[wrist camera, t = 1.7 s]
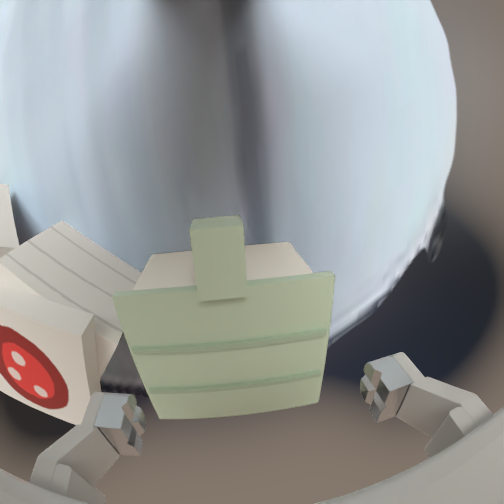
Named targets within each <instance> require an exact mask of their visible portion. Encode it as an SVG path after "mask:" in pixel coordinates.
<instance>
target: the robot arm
mask: <svg viewBox="0 0 504 504" xmlns="http://www.w3.org/2000/svg"><path fill="white" fill-rule="evenodd" d="M364 372H365V376H364V377H363V378H362V379H361V383H360V391H361V395H362V397H363V399H364V401H365V402H366V403H368V404H371V406H370V412H371V414H372V415H373V417H374V419H375V421H376V422H380V421H383V420H386V419H389V418H391V417H394V416H396V417H397V418H399V419H401V420H402V421H404V422H406V423H407V424H409V425H411V426H413V427H414V428H416V429H418V430H420V431H421V432H423V433H425V434H426V435H428V436H430V437H432V439H431V440H430V441H429V443H428V444H427V445H426V447H425V452H426V453H427V455H428V457H429V459H427V460H425V461H423V462H421V463H420V464H418V465H416V466H414V467H412V468H410V469H408V470H406V471H404V472H402V473H399V474H397V475H395V476H393V477H391V478H388V479H386V480H384V481H381V482H379V483H377V484H374V485H371V486H369V487H366V488H363V489H361V490H358V491H355V492H352V493H350V494H346V495H343V496H340V497H337V498H333V499H330V500H326V501H323V502H319V503H315V504H504V406H503V407H502V408H501V409H500V410H498V411H497V412H496V413H495V414H494V415H493V414H492V413H491V412H490V410H489V409H488V408H487V407H486V406H485V404H484V403H483V402H482V401H481V400H480V399H479V397H478V396H477V395H476V394H474V393H471V392H468V391H465V390H462V389H459V388H456V387H454V386H451V385H448V384H446V383H443V382H440V381H438V380H435V379H433V378H430V377H426V378H425V377H424V376H423V375H422V374H421V372H420V371H419V370H418V369H417V368H416V367H415V365H414V364H413V363H412V362H411V360H410V359H409V358H408V357H407V356H406V355H405V354H404V353H402V352H400V353H397V354H394V355H391V356H387V357H384V358H381V359H378V360H375V361H372V362H368V363H367V364H366V365H365V367H364ZM136 403H137V400H136V398H135V396H134V395H132V394H119V393H104V392H94V393H93V394H92V396H91V398H90V401H89V404H88V406H87V409H86V412H85V414H84V417H83V420H82V423H81V425H79V424H77V425H76V426H75V427H74V428H73V429H71V430H70V431H69V432H68V433H66V434H65V435H64V436H62V437H61V438H60V439H59V440H57V441H56V442H55V443H54V444H52V445H51V446H50V447H49V448H47V449H46V450H45V451H43V452H42V453H41V454H40V455H38V458H37V460H36V463H35V466H34V469H33V473H32V475H31V479H30V482H26V481H24V480H22V479H20V478H18V477H16V476H14V475H11V474H9V473H7V472H5V471H3V470H2V469H0V504H105V496H104V494H103V493H101V492H100V491H99V490H97V489H96V488H95V487H94V486H95V485H96V484H97V483H98V481H99V480H100V479H101V478H102V477H103V476H104V474H105V473H106V472H107V471H108V469H109V468H110V467H111V466H112V465H113V464H114V462H115V461H116V460H117V459H118V457H119V456H120V455H131V456H141V453H142V446H143V441H142V439H141V437H140V436H141V435H142V434H143V433H144V432H145V426H146V425H145V417H144V413H143V411H142V409H141V408H140V407H138V406H137V405H136Z"/></svg>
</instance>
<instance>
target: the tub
mask: <svg viewBox="0 0 504 504" xmlns="http://www.w3.org/2000/svg"><path fill="white" fill-rule="evenodd" d="M245 259H246V275H247V280H256V279H265V278H275V277H284V276H293V275H301V274H310V273H313V272H312V270H311V269H310V268H309V267H308V265H307V264H306V263H305V262H304V260H303V259H302V258H301V257H300V255H299V254H298V253H297V252H296V250H295V249H294V248H293V247H292V245H291V244H290V243H289V242H279V243H268V244H257V245H246V246H245ZM193 285H197V284H196V277H195V271H194V263H193V256H192V251H182V252H171V253H161V254H152V255H151V257H150V259H149V260H148V262H147V264H146V266H145V268H144V269H143V271H142V273H141V275H140V277H139V279H138V281H137V283H136V284H135V286H134V288H133V290H143V289H157V288H169V287H182V286H193Z"/></svg>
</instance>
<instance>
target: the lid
mask: <svg viewBox="0 0 504 504" xmlns="http://www.w3.org/2000/svg"><path fill="white" fill-rule="evenodd" d="M189 232H190V240H191V248H192V256H193V263H194V271H195V277H196V284H197V285H193V286H182V287H169V288H157V289H143V290H129V291H115V292H114V294H113V296H112V299H113V302H114V305H115V309H116V312H117V315H118V318H119V321H120V324H121V327H122V330H123V333H124V336H125V339H126V341H127V344H128V347H129V350H130V352H131V355H132V358H133V360H134V363H135V365H136V368H137V370H138V373H139V375H140V377H141V380H142V382H143V384H144V387H145V389H146V391H147V393H148V396H149V398H150V400H151V402H152V404H153V406H154V408H155V410H156V412H157V414H158V417H159V419H196V418H214V417H227V416H238V415H246V414H254V413H262V412H269V411H276V410H282V409H288V408H293V407H298V406H303V405H308V404H313V403H317V402H318V401H319V396H320V390H321V384H322V378H323V372H324V366H325V359H326V352H327V345H328V338H329V330H330V321H331V313H332V303H333V293H334V282H335V275H334V274H333V273H332V272H331V271H326V272H318V273H310V274H301V275H293V276H284V277H275V278H265V279H256V280H247V275H246V259H245V243H244V227H243V223H242V221H241V218H240V216H239V215H233V216H221V217H210V218H200V219H193V220H192V223H191V226H190V230H189Z"/></svg>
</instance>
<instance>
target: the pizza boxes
mask: <svg viewBox="0 0 504 504" xmlns="http://www.w3.org/2000/svg"><path fill="white" fill-rule="evenodd" d="M140 275H141V272H140V271H138V270H137V269H135V268H133V267H132V266H130V265H128V264H127V263H125V262H124V261H122V260H121V259H119V258H117V257H116V256H114V255H113V254H111V253H110V252H108V251H107V250H105V249H103V248H102V247H100V246H99V245H97V244H96V243H94V242H93V241H91V240H90V239H88V238H87V237H86V236H84V235H83V234H81V233H80V232H78V231H77V230H75V229H74V228H72V227H71V226H70V225H68V224H67V223H65V222H64V221H63V220H62V221H60V222H58V223H57V224H55V225H53V226H51V227H49V228H48V229H46V230H44V231H43V232H41V233H39V234H37V235H36V236H34V237H32V238H31V239H29V240H28V241H26V242H24V243H23V244H21V245H20V246H19V242H18V237H17V233H16V228H15V223H14V218H13V212H12V206H11V200H10V192H9V185H6V184H1V183H0V391H2V392H4V393H6V394H7V395H9V396H11V397H13V398H15V399H17V400H19V401H21V402H23V403H25V404H27V405H29V406H31V407H33V408H36V409H38V410H40V411H42V412H45V413H47V414H49V415H52V416H54V417H57V418H59V419H62V420H64V421H67V422H70V423H73V424H75V425H77V424H79V425H81V423H82V420H83V417H84V414H85V412H86V409H87V406H88V404H89V401H90V398H91V396H92V394H93V393H94V392H101V386H100V379H101V377H102V375H103V373H104V371H105V369H106V367H107V365H108V363H109V361H110V359H111V357H112V355H113V353H114V351H115V349H116V347H117V345H118V343H119V340H120V338H121V336H122V333H123V330H122V327H121V324H120V321H119V318H118V315H117V312H116V309H115V305H114V302H113V299H112V296H113V294H114V292H115V291H129V290H133V288H134V286H135V284H136V283H137V281H138V279H139V277H140Z"/></svg>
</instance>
